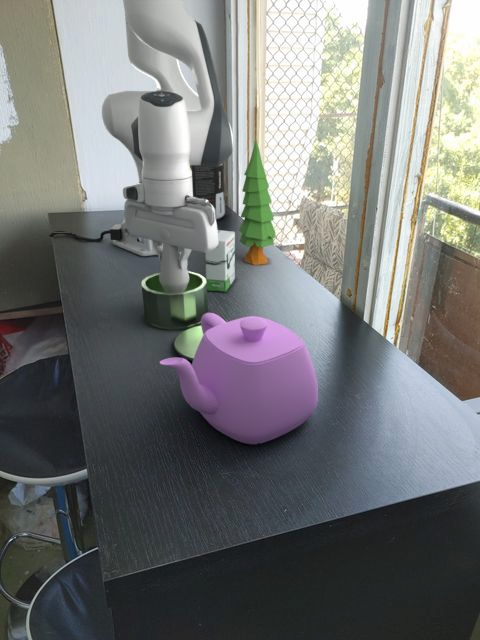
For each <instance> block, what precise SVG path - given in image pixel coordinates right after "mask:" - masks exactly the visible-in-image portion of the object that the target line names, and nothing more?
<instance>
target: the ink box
mask: <svg viewBox="0 0 480 640" xmlns="http://www.w3.org/2000/svg"><path fill="white" fill-rule="evenodd" d="M217 230H218V240H219V243H218V246H217V247H216V248H215V249H214V250H212V251H209V252H207V253H204V256H205V257H204V258H205V259H204V261H205V278H206V281H207V291H212V292H213V291H214V292H225V293H226V292H227V291H228V289H230V286H231V285H232V284H233V283H234V281H235V279H236V277H235V276H236V274H235V273H236V272H235V270H236V269H235V268H236V264H235V263H236V261H235V260H236V259H235V258H236V256H235V254H236V253H235V252H236V232H235V231H231V230H230V231H229V230H222V229H221V230H220V229H217Z"/></svg>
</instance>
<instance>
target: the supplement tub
mask: <svg viewBox="0 0 480 640" xmlns="http://www.w3.org/2000/svg"><path fill="white" fill-rule="evenodd" d="M190 169H191V172H192V185H193V197H196V198H200V199H201V198H203V199H207V200H208V202H209V203H211V204H212V206H213V207H214V209H215V218H216V220H219V219H221V218H223V217H224V216H225V214H226V191H225V189H226V188H225V162H224V163H223V164H221V165H220V166H218V167H207V166H201V165H190ZM208 206H209V205H208Z"/></svg>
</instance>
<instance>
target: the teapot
mask: <svg viewBox="0 0 480 640" xmlns="http://www.w3.org/2000/svg"><path fill="white" fill-rule="evenodd" d="M200 326H202V331H203V337H202V339H201V341H200V343H199V346H198V348H197V351H196V353H195V356H194V359H193V361H192V363H190V361H189V360H188V359H186V358H184V357H180V356H179V357H177V356H175V357H167V358H164V359H161V360H160V361H159V364H160V365H161V366H165V367H168V368H171V369H173V370H174V371H175V372H176V373H177V376H178V379H179V385H180V390H181V393H182V396H183V398H184V400H185V402H186V403H187V404H188V405H189V406H190V407H191V408H192V409H193V410H195V411H197V412H199V414H201V415H202V417H203V418H204V419H205V420H206V421H207V423H208V424H209V425H211V427H213V428H214V429H215V430H217V432H220V433H222V434H223V435H225V436H227V437H228V438H231V440H232V439H233V440H235V441H237V442H239V443H242V444H246V445H260V444H263V443H267V442H269V441H271V440H272V441H273V440H274V439H275V440H276V439H277V438H280V437H281V436H283V435H286V434H287V433H289V432H291V431H293V430H295V429H297V428H298V427H300V426H301V425H302V424H304V423H305V422H306V421H307V420H308V419H309V418H310V417H311V416H312V414H313V413H314V412H315V411H316V408H317V406H318V403H319V387H318V386H319V385H318V379H317V378H318V377H317V375H316V370H315V367H314V364H313V361H312V358H311V356H310V353H309V351H308V349H307V347H306V344H305V341H304V340H303V339H302V338H301V337H300V336H299V335H298V334H296V332H294V331H293V330H291V329H290V328H289V327H287V326H284V325H283V324H281V323H278V322H276V321H274V320H271V319H268V318H265V317H262V316H255V315H250V316H243V317H240V318H236V319H233V320H230V321H226V320H224V319H223V318H222V317H221V316H220V315H218V314H216V313H213V312H208V313H206V314H204V315H203V316H202V318H201V324H200ZM258 443H259V444H258Z"/></svg>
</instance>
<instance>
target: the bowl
mask: <svg viewBox="0 0 480 640" xmlns="http://www.w3.org/2000/svg"><path fill="white" fill-rule="evenodd" d="M188 274H189V282H188V285H187V287H186V290H184V291H183V292H179V293H167V292H165V291H164V289H163V287H162V285H161V283H160V280H159V275H160V272H155V273H153V274H150V275H148V276H145V278H143V279H142V281H141V294H142V295H141V296H142V305H143V314H144V320H145V322H146V324H148V325H149V326H151V327H152V328H156V329H159V330H164V331H183V330H188V329H190V328H193V327H197V326H201V318H202V316H203V315H204V314H206V313H209V304H208V303H209V301H208V290H207V281H206V276H203V275H202V274H200V273H198V272H193V271H189V270H188Z"/></svg>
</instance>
